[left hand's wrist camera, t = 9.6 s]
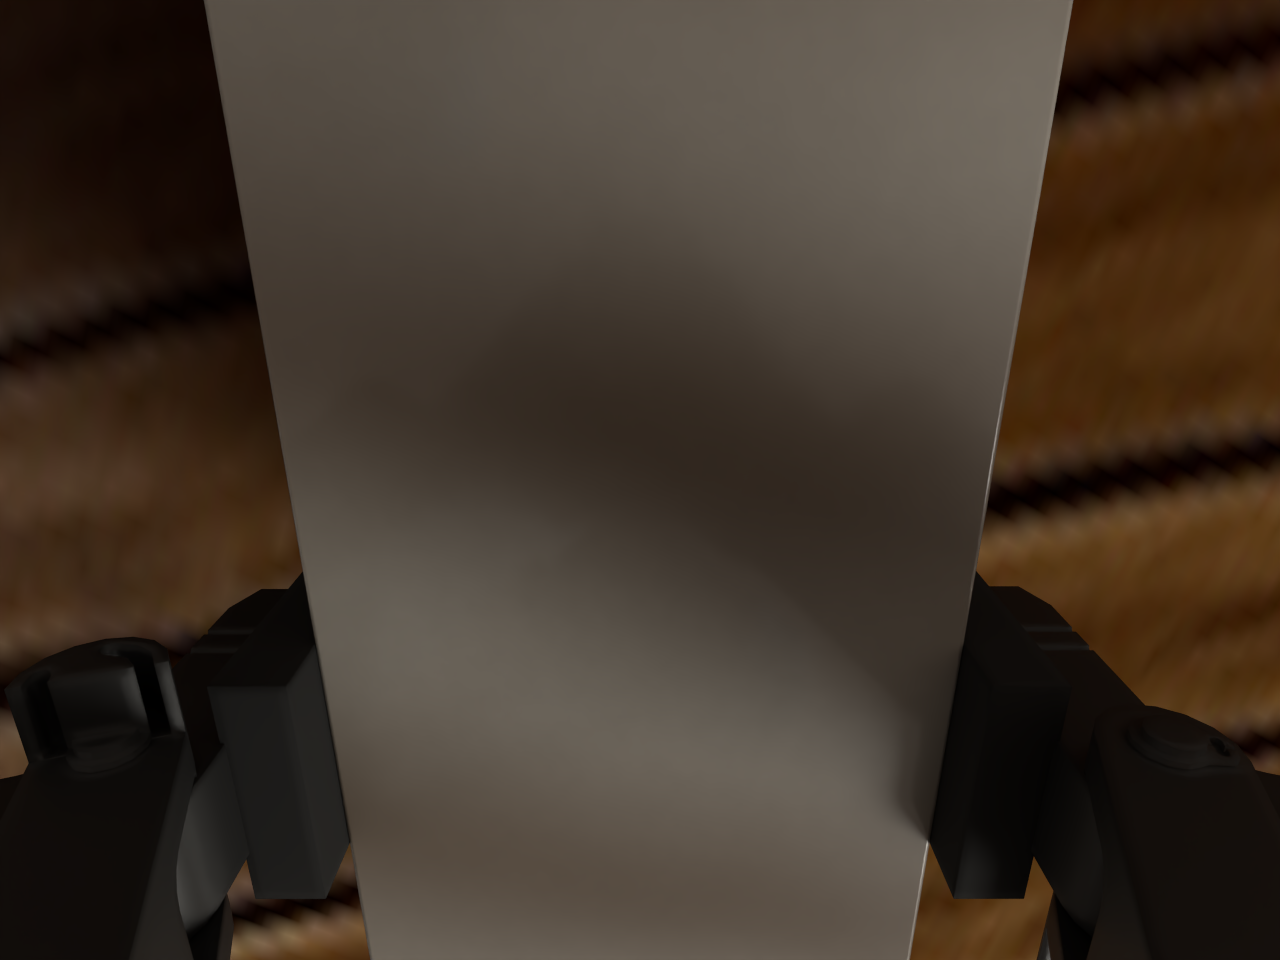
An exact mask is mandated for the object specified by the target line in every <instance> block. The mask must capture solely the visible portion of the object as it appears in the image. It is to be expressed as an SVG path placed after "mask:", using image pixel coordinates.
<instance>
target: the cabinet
mask: <svg viewBox="0 0 1280 960" xmlns="http://www.w3.org/2000/svg"><path fill="white" fill-rule="evenodd" d="M204 4H205V9H206V15H207V21H208V27H209V32H210V38H211V44H212V50H213V55H214V61H215V67H216V73H217V78H218V84H219V90H220V96H221V101H222V107H223V113H224V119H225V125H226V130H227V136H228V142H229V148H230V153H231V159H232V165H233V171H234V176H235V182H236V188H237V194H238V199H239V205H240V211H241V217H242V223H243V228H244V234H245V240H246V246H247V251H248V257H249V263H250V269H251V274H252V280H253V286H254V292H255V297H256V303H257V309H258V315H259V320H260V326H261V332H262V338H263V344H264V349H265V355H266V361H267V367H268V372H269V378H270V384H271V390H272V395H273V401H274V407H275V413H276V418H277V424H278V430H279V436H280V442H281V447H282V453H283V459H284V465H285V470H286V476H287V482H288V488H289V493H290V499H291V505H292V511H293V516H294V522H295V528H296V534H297V539H298V545H299V551H300V557H301V563H302V568H303V574H304V580H305V586H306V591H307V597H308V603H309V609H310V614H311V620H312V626H313V632H314V637H315V643H316V649H317V655H318V661H319V666H320V672H321V678H322V684H323V689H324V695H325V701H326V707H327V712H328V718H329V724H330V730H331V735H332V741H333V747H334V753H335V758H336V764H337V770H338V776H339V782H340V787H341V793H342V799H343V805H344V810H345V816H346V822H347V828H348V833H349V839H350V845H351V851H352V856H353V862H354V868H355V874H356V880H357V885H358V891H359V897H360V903H361V908H362V914H363V920H364V926H365V931H366V937H367V943H368V949H369V954H370V960H910V954H911V948H912V942H913V937H914V931H915V925H916V919H917V913H918V907H919V901H920V895H921V890H922V884H923V878H924V872H925V866H926V860H927V854H928V848H929V843H930V837H931V831H932V825H933V819H934V813H935V807H936V802H937V796H938V790H939V784H940V778H941V772H942V766H943V760H944V755H945V749H946V743H947V737H948V731H949V725H950V719H951V714H952V708H953V702H954V696H955V690H956V684H957V678H958V672H959V667H960V661H961V655H962V649H963V643H964V637H965V631H966V626H967V620H968V614H969V608H970V602H971V596H972V590H973V584H974V579H975V573H976V567H977V561H978V555H979V549H980V543H981V538H982V532H983V526H984V520H985V514H986V508H987V502H988V496H989V491H990V485H991V479H992V473H993V467H994V461H995V455H996V450H997V444H998V438H999V432H1000V426H1001V420H1002V414H1003V408H1004V403H1005V397H1006V391H1007V385H1008V379H1009V373H1010V367H1011V362H1012V356H1013V350H1014V344H1015V338H1016V332H1017V326H1018V320H1019V315H1020V309H1021V303H1022V297H1023V291H1024V285H1025V279H1026V274H1027V268H1028V262H1029V256H1030V250H1031V244H1032V238H1033V232H1034V227H1035V221H1036V215H1037V209H1038V203H1039V197H1040V191H1041V186H1042V180H1043V174H1044V168H1045V162H1046V156H1047V150H1048V144H1049V139H1050V133H1051V127H1052V121H1053V115H1054V109H1055V103H1056V98H1057V92H1058V86H1059V80H1060V74H1061V68H1062V62H1063V56H1064V51H1065V45H1066V39H1067V33H1068V27H1069V21H1070V15H1071V9H1072V4H1073V0H204Z"/></svg>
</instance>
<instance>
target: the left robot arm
mask: <svg viewBox="0 0 1280 960" xmlns="http://www.w3.org/2000/svg"><path fill="white" fill-rule="evenodd" d="M4 691H5V694H6V697H7V700H8V703H9V706H10V709H11V712H12V715H13V718H14V720H15V723H16V726H17V729H18V732H19V735H20V738H21V741H22V744H23V747H24V750H25V753H26V756H27V759H28V762H29V764H28V766H27V768H26V770H25V772H24V774H22V775H18V776H14V777H9V778H4V779H0V960H230V954H231V946H232V938H233V930H234V925H233V919H232V912H231V907H230V903H229V899H228V895H227V892H228V890H229V889H230V887H231V885H232V883H233V882H234V880H235V878H236V876H237V874H238V873H239V871H240V869H241V867H242V866H243V864H244V862H245V860H246V859H247V863H248V868H249V872H250V876H251V881H252V885H253V890H254V894H255V898H256V899H326V897H327V894H328V892H329V890H330V887H331V885H332V883H333V880H334V878H335V876H336V873H337V871H338V869H339V866H340V864H341V862H342V859H343V857H344V855H345V852H346V850H347V848H348V845H349V843H350V839H349V833H348V828H347V822H346V816H345V810H344V805H343V799H342V793H341V787H340V782H339V776H338V770H337V764H336V758H335V753H334V747H333V741H332V735H331V730H330V724H329V718H328V712H327V707H326V701H325V695H324V689H323V684H322V678H321V672H320V666H319V661H318V655H317V649H316V643H315V637H314V632H313V626H312V620H311V614H310V609H309V603H308V597H307V591H306V586H305V580H304V574H303V572H302V573H301V574H300V576H299V577H298V578H297V579H296V580H295V582H294V583H293V584H292V585H291V586H290V588H289V589H261V590H259V591H257V592H256V593H254V594H252V595H251V596H249V597H247V598H245V599H244V600H242V601H240V602H239V603H237V604H235V605H233V606H232V607H230V608H229V609H228V610H227V611H226V612H225V613H224V614H223V615H222V616H221V617H220V618H219V619H218V620H217V621H216V622H215V624H214V625H213V626H212V627H211V628H210V629H209V630H208V635H203V636H202V637H201V639H200V640H199V641H198V642H197V643H196V644H195V645H194V646H193V647H192V648H191V653H187V654H186V655H185V656H184V657H183V658H182V659H181V660H180V661H179V662H178V663H177V664H176V665H175V666H174V668H173V669H172V667H171V663H170V659H169V655H168V651H167V648H165V647H164V646H162V645H161V644H159V643H158V642H156V641H155V640H150V639H144V638H137V637H125V638H111V639H103V640H99V641H95V642H91V643H86V644H82V645H78V646H74V647H72V648H69V649H67V650H64V651H62V652H59V653H57V654H54V655H52V656H49V657H47V658H44V659H43V660H41V661H39V662H38V663H36V664H34V665H33V666H31V667H30V668H28V669H26V670H25V671H23V672H21V673H20V674H19V675H18V676H17V677H16V678H15V679H14V680H13V681H12V682H11V683H10V684H9V685H8V686H7V687H6V688H5V689H4ZM930 844H931V847H932V849H933V851H934V854H935V856H936V858H937V861H938V863H939V865H940V868H941V870H942V872H943V875H944V877H945V879H946V882H947V884H948V886H949V889H950V891H951V893H952V896H953V898H954V899H1024V896H1025V891H1026V887H1027V883H1028V878H1029V874H1030V870H1031V865H1032V861H1033V856H1034V857H1035V859H1036V861H1037V862H1038V864H1039V866H1040V868H1041V869H1042V871H1043V873H1044V875H1045V876H1046V878H1047V880H1048V882H1049V883H1050V885H1051V887H1052V889H1053V890H1054V891H1053V895H1052V899H1051V903H1050V907H1049V911H1048V915H1047V920H1046V924H1045V928H1044V932H1043V936H1042V940H1041V944H1040V948H1039V952H1038V956H1037V960H1280V775H1275V774H1270V773H1265V772H1261V771H1257V770H1255V769H1254V767H1253V765H1252V763H1251V761H1250V760H1249V759H1248V757H1247V756H1246V755H1245V754H1244V753H1243V751H1242V750H1241V749H1240V748H1239V746H1238V745H1237V744H1236V743H1234V742H1233V741H1231V740H1230V739H1229V738H1227V737H1226V736H1224V735H1223V734H1222V733H1220V732H1219V731H1217V730H1216V729H1215V728H1213V727H1211V726H1209V725H1207V724H1204V723H1202V722H1200V721H1198V720H1196V719H1194V718H1191V717H1189V716H1187V715H1185V714H1181V713H1178V712H1174V711H1170V710H1167V709H1163V708H1159V707H1156V706H1145V705H1144V704H1143V703H1142V702H1141V701H1140V699H1139V698H1138V697H1137V696H1136V695H1135V694H1134V693H1133V692H1132V691H1131V690H1130V689H1129V688H1128V687H1127V686H1126V685H1125V684H1124V682H1123V681H1122V680H1121V679H1120V678H1119V677H1118V676H1117V675H1116V674H1115V673H1114V672H1113V671H1112V670H1111V669H1110V668H1109V666H1108V665H1107V664H1106V663H1105V662H1104V661H1103V660H1102V659H1101V658H1100V657H1099V656H1098V655H1097V654H1096V653H1095V652H1094V651H1093V650H1089V645H1088V644H1087V643H1086V642H1085V641H1084V640H1083V639H1082V638H1081V637H1080V636H1079V635H1078V633H1077V632H1072V627H1071V626H1070V625H1069V624H1068V623H1067V622H1066V621H1065V620H1064V619H1063V617H1062V616H1061V615H1060V614H1059V613H1058V612H1057V611H1056V610H1055V609H1054V608H1053V607H1052V606H1051V605H1050V604H1048V603H1046V602H1044V601H1043V600H1041V599H1039V598H1038V597H1036V596H1034V595H1032V594H1031V593H1029V592H1027V591H1025V590H1024V589H1022V588H1020V587H1019V586H988V585H987V583H986V582H985V581H984V580H983V579H982V577H981V576H980V575H979V574H978V573H977V571H976V573H975V579H974V584H973V590H972V596H971V602H970V608H969V614H968V620H967V626H966V631H965V637H964V643H963V649H962V655H961V661H960V667H959V672H958V678H957V684H956V690H955V696H954V702H953V708H952V714H951V719H950V725H949V731H948V737H947V743H946V749H945V755H944V760H943V766H942V772H941V778H940V784H939V790H938V796H937V802H936V807H935V813H934V819H933V825H932V831H931V837H930Z"/></svg>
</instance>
